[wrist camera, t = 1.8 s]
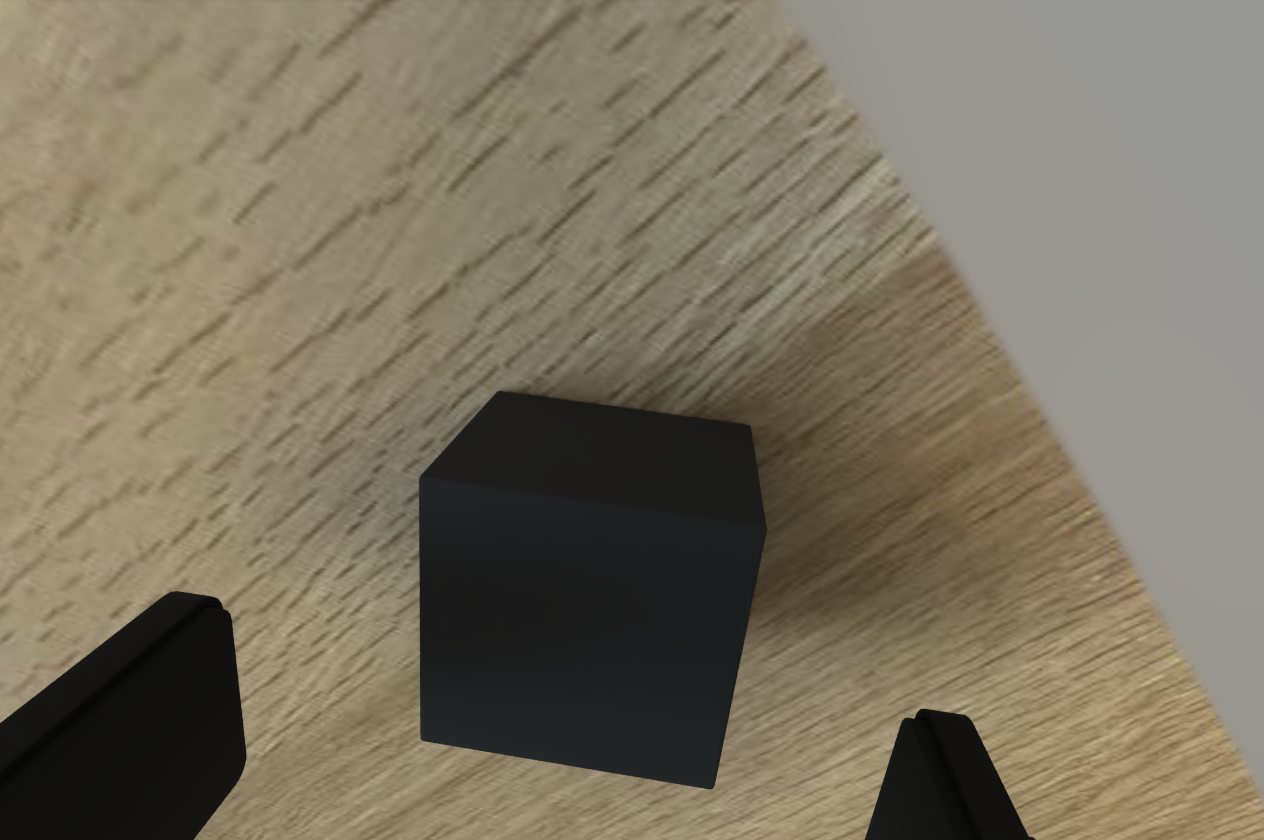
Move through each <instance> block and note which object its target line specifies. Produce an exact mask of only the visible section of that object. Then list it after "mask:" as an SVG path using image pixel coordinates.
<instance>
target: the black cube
mask: <svg viewBox="0 0 1264 840" xmlns="http://www.w3.org/2000/svg"><path fill="white" fill-rule="evenodd" d="M766 532H767V526H766V520H765V514H764V507H763V501H762V495H761V488H760V482H759V476H758V469H757V463H756V457H755V450H754V444H753V438H752V431H751V427H750V426H749V425H744V424H736V423H729V422H722V421H715V420H707V419H700V418H693V417H685V416H678V415H671V414H664V413H656V412H649V411H642V410H634V409H627V408H620V407H613V406H605V405H598V404H591V403H584V402H576V401H569V400H562V399H554V398H547V397H540V396H533V395H525V394H518V393H511V392H504V391H498V392H496V394H495V395H494V396H493V397H492V398H491V399H490V400H489V401H488V402H487V403H486V405H485V406H484V407H483V408H482V409H481V410H480V411H479V412H478V413H477V414H476V416H475V417H474V418H473V419H472V420H471V421H470V422H469V423H468V424H467V425H466V426H465V428H464V429H463V430H462V431H461V432H460V433H459V434H458V435H457V436H456V437H455V439H454V440H453V441H452V442H451V443H450V444H449V445H448V446H447V447H446V448H445V450H444V451H443V452H442V453H441V454H440V455H439V456H438V457H437V458H436V459H435V460H434V462H433V463H432V464H431V465H430V466H429V467H428V468H427V469H426V470H425V471H424V473H423V474H422V475H421V476H420V478H419V554H420V731H421V740H423V741H426V742H432V743H438V744H444V745H450V746H456V747H462V748H468V749H474V750H480V751H486V752H492V753H498V754H503V755H509V756H515V757H521V758H527V759H533V760H539V761H545V762H551V763H557V764H563V765H569V766H575V767H580V768H586V769H592V770H598V771H604V772H610V773H616V774H622V775H628V776H634V777H640V778H646V779H652V780H657V781H663V782H669V783H675V784H681V785H687V786H693V787H699V788H705V789H713V788H714V786H715V781H716V777H717V772H718V767H719V762H720V757H721V752H722V747H723V742H724V737H725V733H726V728H727V723H728V718H729V713H730V708H731V703H732V698H733V693H734V689H735V684H736V679H737V674H738V669H739V664H740V659H741V654H742V650H743V645H744V640H745V635H746V630H747V625H748V620H749V615H750V610H751V606H752V601H753V596H754V591H755V586H756V581H757V576H758V571H759V566H760V562H761V557H762V552H763V547H764V542H765V537H766Z"/></svg>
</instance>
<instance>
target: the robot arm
mask: <svg viewBox="0 0 1264 840" xmlns="http://www.w3.org/2000/svg"><path fill="white" fill-rule="evenodd" d="M245 762H246V746H245V737H244V727H243V718H242V709H241V700H240V691H239V682H238V673H237V664H236V654H235V645H234V636H233V627H232V619H231V615H230V613H229V612H228V611H227V610H224V609H223V607H222V603H221V602H220V601H219V599H218V598H215V597H211V596H205V595H198V594H192V593H186V592H179V591H175V592H170V593H168V594H166V595H165V596H163V597H162V598H160V599H159V600H158V601H157V602H155V603H154V604H153V605H151V606H150V607H149V608H148V609H146V610H145V611H144V612H142V613H141V614H140V615H139V616H137V617H136V618H135V619H133V620H132V621H131V622H130V623H128V624H127V625H126V626H124V627H123V628H122V629H121V630H119V631H118V632H117V633H115V634H114V635H113V636H112V637H110V638H109V639H108V640H106V641H105V642H104V643H103V644H101V645H100V646H99V647H97V648H96V649H95V650H94V651H92V652H91V653H90V654H88V655H87V656H86V657H85V658H83V659H82V660H81V661H79V662H78V663H77V664H76V665H74V666H73V667H72V668H71V669H69V670H68V671H67V672H65V673H64V674H63V675H62V676H60V677H59V678H58V679H56V680H55V681H54V682H53V683H51V684H50V685H49V686H47V687H46V688H45V689H44V690H42V691H41V692H40V693H38V694H37V695H36V696H35V697H33V698H32V699H31V700H29V701H28V702H27V703H26V704H24V705H23V706H22V707H20V708H19V709H18V710H17V711H15V712H14V713H13V714H11V715H10V716H9V717H8V718H6V719H5V720H4V721H2V722H1V723H0V840H194V838H195V837H196V836H197V834H198V833H199V832H200V831H201V829H202V828H203V827H204V825H205V824H206V823H207V821H208V820H209V819H210V818H211V816H212V815H213V814H214V812H215V811H216V810H217V808H218V807H219V806H220V805H221V803H222V802H223V801H224V799H225V798H226V797H227V795H228V794H229V793H230V792H231V790H232V789H233V788H234V786H235V785H236V783H237V782H238V780H239V779H240V777H241V775H242V772H243V769H244V767H245ZM865 840H1036V839H1035V838H1033V837H1029V836H1028V834H1027V832H1026V830H1025V828H1024V826H1023V824H1022V822H1021V820H1020V818H1019V816H1018V814H1017V812H1016V810H1015V808H1014V806H1013V804H1012V802H1011V800H1010V798H1009V796H1008V794H1007V792H1006V789H1005V787H1004V785H1003V783H1002V781H1001V779H1000V777H999V775H998V773H997V771H996V769H995V767H994V765H993V763H992V761H991V759H990V757H989V755H988V753H987V751H986V749H985V747H984V744H983V742H982V740H981V738H980V736H979V734H978V732H977V730H976V728H975V726H974V724H973V723H972V721H971V720H970V718H969V717H967V716H966V715H961V714H955V713H948V712H942V711H936V710H929V709H920V710H919V711H918V712H917V714H916V716H915V718H914V719H912V718H905V719H904V720H903V721H902V723H901V726H900V729H899V732H898V735H897V738H896V742H895V745H894V748H893V751H892V754H891V758H890V761H889V764H888V767H887V770H886V774H885V777H884V780H883V783H882V787H881V790H880V793H879V796H878V799H877V803H876V806H875V809H874V812H873V815H872V819H871V822H870V825H869V828H868V832H867V835H866V838H865Z"/></svg>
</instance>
